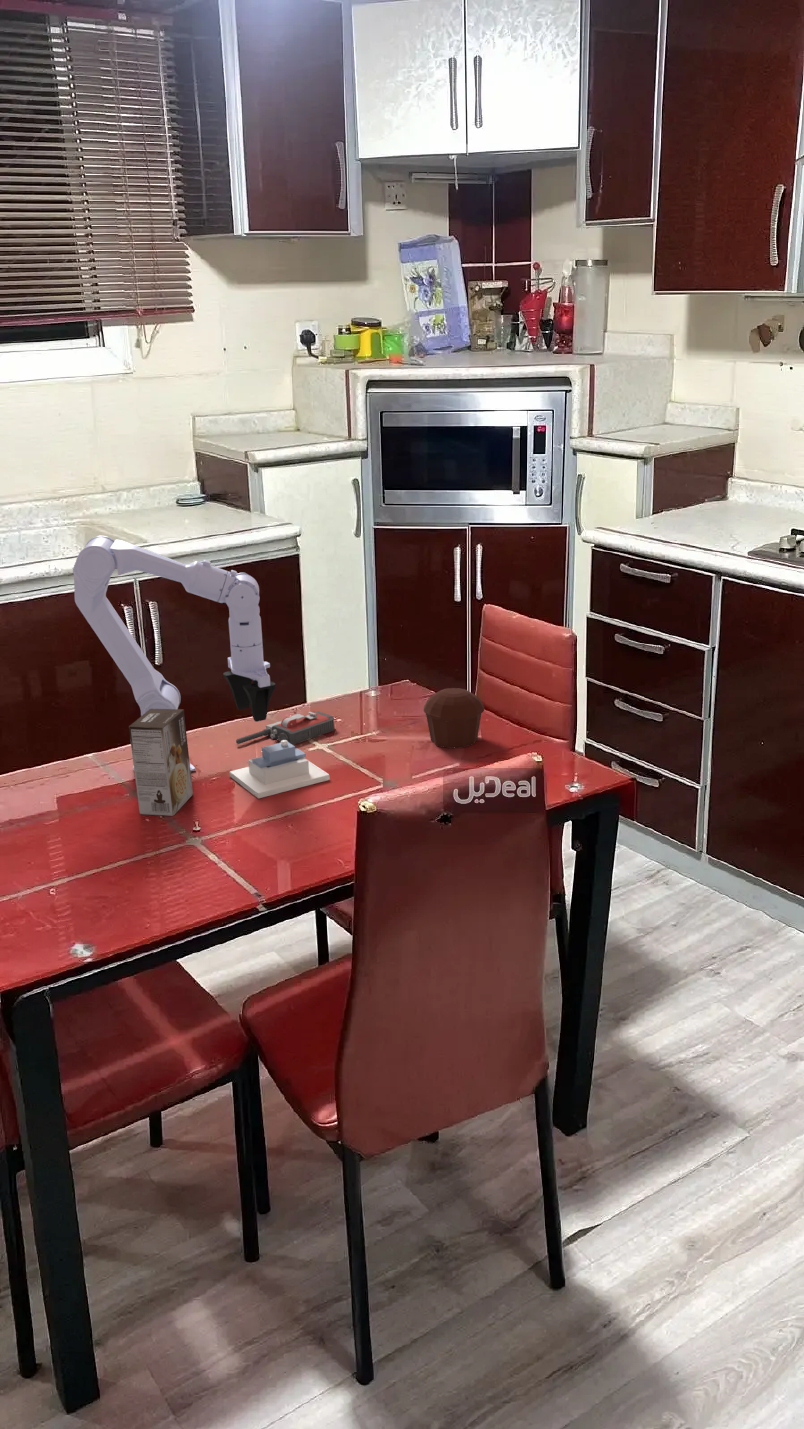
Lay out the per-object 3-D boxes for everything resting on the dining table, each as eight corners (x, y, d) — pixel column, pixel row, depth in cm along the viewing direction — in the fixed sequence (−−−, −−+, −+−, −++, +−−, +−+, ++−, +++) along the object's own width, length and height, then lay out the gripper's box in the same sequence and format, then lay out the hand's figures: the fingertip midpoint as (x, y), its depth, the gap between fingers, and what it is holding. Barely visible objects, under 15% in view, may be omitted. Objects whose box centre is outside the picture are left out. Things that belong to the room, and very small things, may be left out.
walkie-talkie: (313, 720, 238) (233, 747, 225) (312, 699, 236) (231, 725, 224) (341, 730, 232) (260, 758, 219) (340, 709, 230) (259, 736, 218)
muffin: (417, 748, 220) (415, 698, 217) (432, 727, 230) (431, 680, 227) (477, 753, 217) (477, 702, 214) (491, 732, 227) (490, 683, 224)
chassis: (258, 798, 200) (256, 779, 199) (230, 776, 210) (228, 758, 209) (329, 779, 207) (328, 761, 206) (299, 759, 217) (297, 741, 216)
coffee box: (159, 793, 204) (150, 707, 199) (194, 794, 203) (185, 708, 197) (138, 814, 196) (127, 725, 190) (174, 817, 194) (164, 727, 189)
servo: (261, 781, 205) (258, 750, 203) (253, 775, 208) (251, 745, 206) (306, 769, 209) (304, 739, 207) (298, 764, 212) (296, 734, 210)
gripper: (283, 648, 204) (288, 721, 208) (250, 630, 215) (255, 699, 220) (246, 655, 200) (252, 729, 205) (215, 636, 212) (220, 706, 217)
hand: (251, 714), depth 212 cm, fingers open, 7 cm apart
